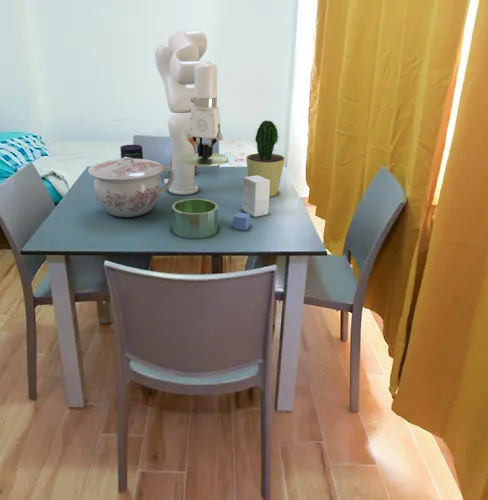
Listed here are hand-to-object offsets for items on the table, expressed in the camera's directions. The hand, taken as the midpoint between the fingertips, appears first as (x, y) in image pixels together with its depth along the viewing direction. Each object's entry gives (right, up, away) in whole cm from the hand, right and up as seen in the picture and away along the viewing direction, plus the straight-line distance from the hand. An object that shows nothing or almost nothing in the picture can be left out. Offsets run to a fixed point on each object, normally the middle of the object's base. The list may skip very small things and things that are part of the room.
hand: (205, 156), depth 172 cm
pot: (-4, -26, -5) cm, 27 cm away
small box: (+19, -19, +10) cm, 29 cm away
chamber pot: (-28, -19, +12) cm, 36 cm away
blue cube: (+12, -25, -3) cm, 28 cm away
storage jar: (-31, -1, +50) cm, 59 cm away
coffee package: (-8, +3, +59) cm, 60 cm away
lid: (0, -1, +1) cm, 1 cm away
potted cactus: (+25, -9, +31) cm, 41 cm away
